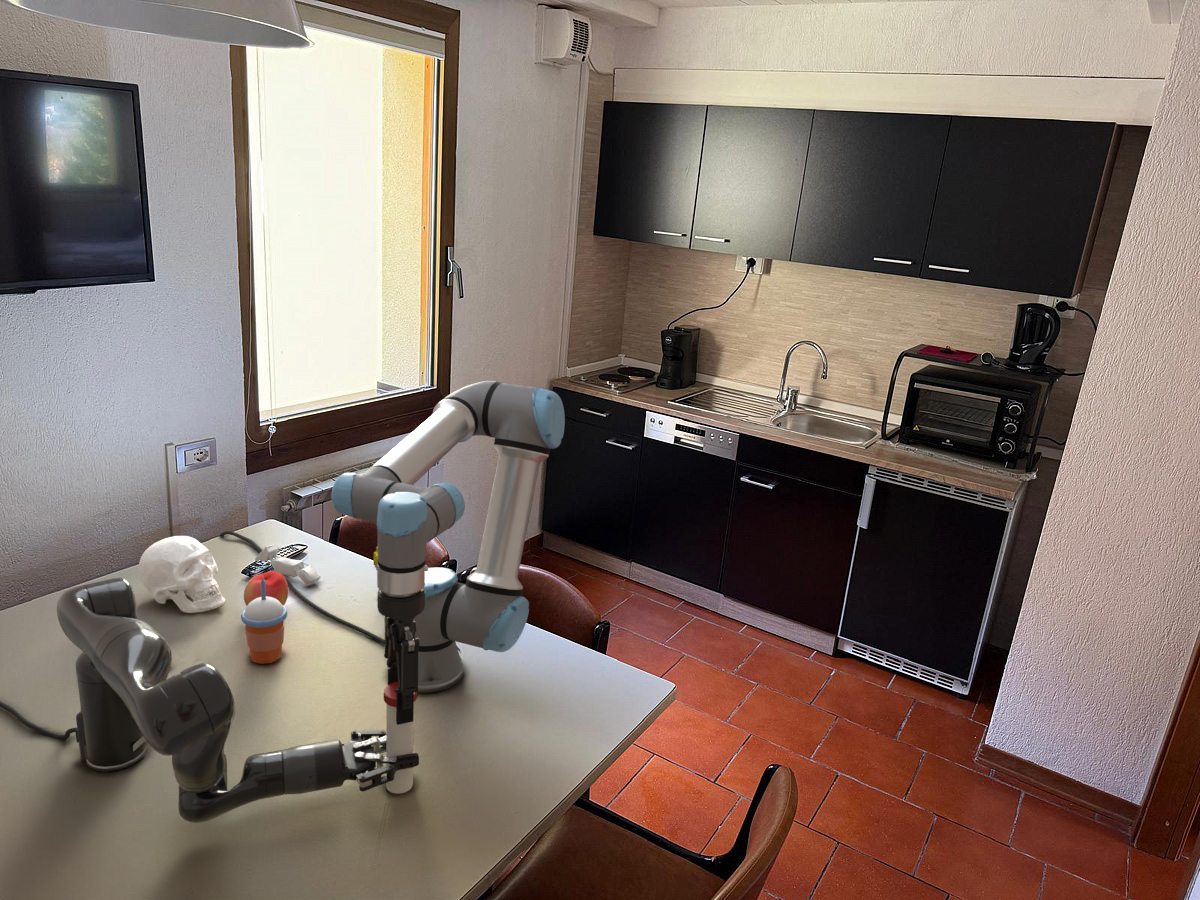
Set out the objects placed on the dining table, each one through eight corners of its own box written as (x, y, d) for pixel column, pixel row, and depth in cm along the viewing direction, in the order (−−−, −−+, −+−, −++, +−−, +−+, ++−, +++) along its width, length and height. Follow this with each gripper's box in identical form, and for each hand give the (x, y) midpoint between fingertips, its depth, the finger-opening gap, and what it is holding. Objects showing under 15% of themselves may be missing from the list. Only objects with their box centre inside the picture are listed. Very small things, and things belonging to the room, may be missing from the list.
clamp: (253, 565, 223) (254, 542, 221) (265, 560, 226) (266, 537, 224) (309, 593, 215) (310, 569, 213) (320, 588, 218) (321, 564, 216)
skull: (204, 622, 195) (202, 558, 191) (126, 603, 200) (122, 540, 196) (244, 599, 207) (242, 538, 203) (169, 582, 213) (166, 522, 209)
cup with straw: (273, 671, 179) (270, 593, 173) (234, 663, 180) (229, 586, 175) (296, 649, 187) (294, 575, 182) (259, 642, 189) (255, 568, 183)
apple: (273, 600, 207) (272, 562, 204) (297, 613, 202) (296, 575, 199) (237, 614, 200) (234, 575, 197) (261, 628, 194) (259, 588, 191)
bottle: (415, 790, 148) (417, 697, 143) (389, 796, 146) (390, 702, 140) (409, 773, 152) (410, 682, 146) (383, 780, 150) (383, 687, 144)
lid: (421, 702, 143) (422, 694, 142) (389, 710, 140) (389, 702, 140) (410, 685, 147) (410, 678, 147) (379, 693, 145) (379, 685, 144)
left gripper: (315, 775, 134) (424, 756, 141) (308, 722, 147) (409, 707, 153) (316, 815, 136) (423, 794, 143) (309, 759, 149) (408, 743, 155)
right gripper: (440, 610, 132) (437, 738, 138) (409, 561, 147) (408, 679, 154) (391, 617, 128) (391, 748, 135) (365, 567, 144) (366, 687, 151)
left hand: (415, 749), depth 148 cm, fingers closed on bottle, 4 cm apart
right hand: (400, 711), depth 145 cm, fingers closed on lid, 5 cm apart
